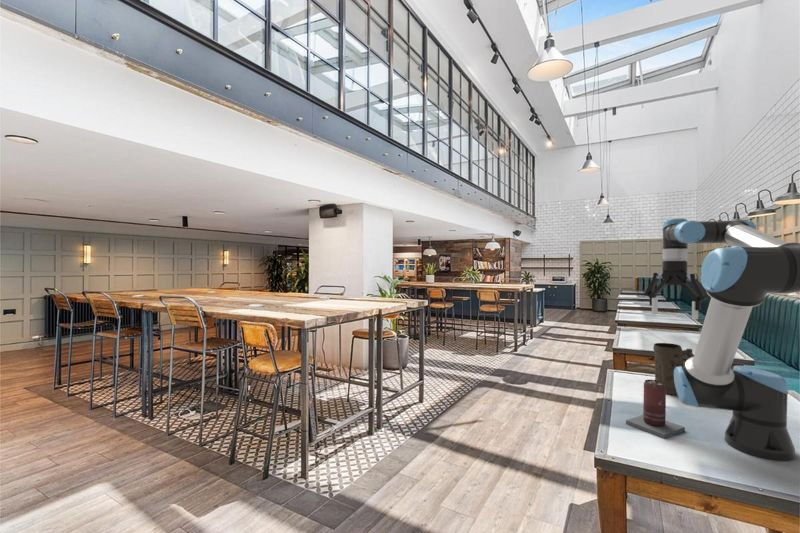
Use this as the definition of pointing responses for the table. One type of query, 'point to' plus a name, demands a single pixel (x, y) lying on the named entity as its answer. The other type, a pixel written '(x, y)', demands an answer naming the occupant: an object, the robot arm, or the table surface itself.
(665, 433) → the mat
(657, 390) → the can
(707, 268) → the robot arm
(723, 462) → the table surface
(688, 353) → the beer stein
